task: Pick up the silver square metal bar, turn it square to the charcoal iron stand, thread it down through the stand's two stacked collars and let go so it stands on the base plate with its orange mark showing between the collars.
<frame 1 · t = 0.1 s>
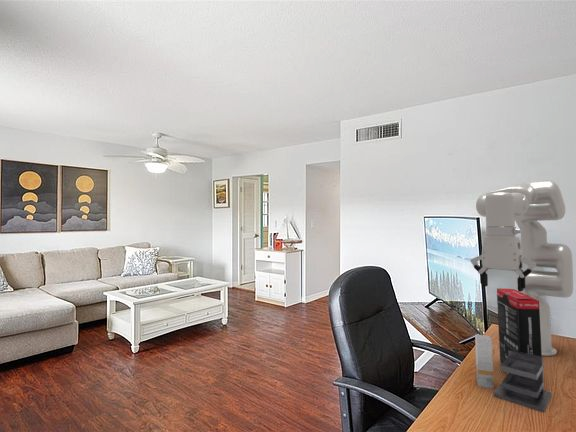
hand: (502, 288, 102), 31 cm above the table, tool pointing down, fingers open, 9 cm apart
silver square metal bar: (484, 384, 105), on the table
graphics card box: (519, 374, 112), on the table
collar stand: (522, 396, 98), on the table
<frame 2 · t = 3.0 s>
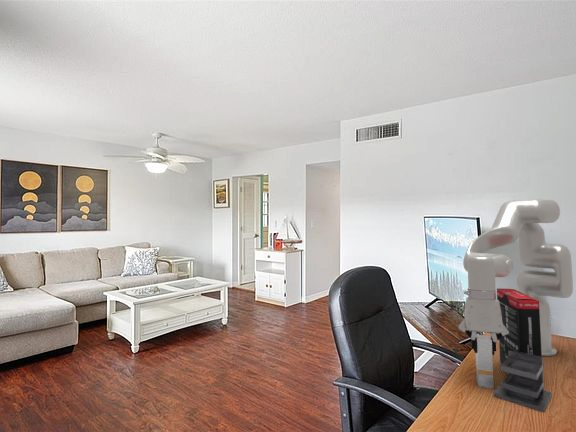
hand: (483, 351, 106), 10 cm above the table, tool pointing down, fingers closed on silver square metal bar, 4 cm apart
silver square metal bar: (484, 384, 105), on the table, touching gripper
everything else where it was.
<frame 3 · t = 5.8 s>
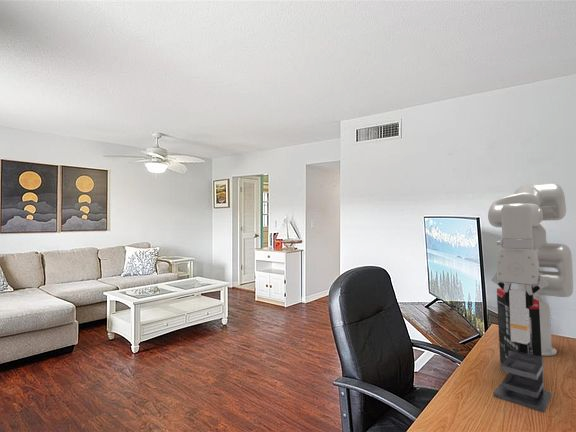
hand: (519, 305, 99), 27 cm above the table, tool pointing down, fingers closed on silver square metal bar, 4 cm apart
silver square metal bar: (520, 341, 98), point 16 cm above the table, touching gripper
everything else where it was.
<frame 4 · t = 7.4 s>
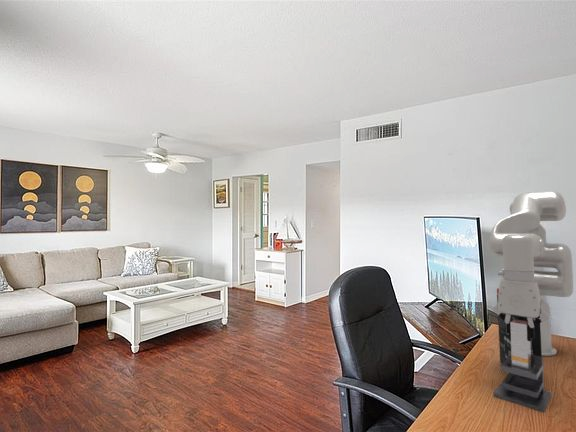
hand: (520, 337, 98), 17 cm above the table, tool pointing down, fingers closed on silver square metal bar, 4 cm apart
silver square metal bar: (521, 373, 98), point 7 cm above the table, touching gripper
everything else where it was.
when the fingers open (13 cm above the table, at t = 8.6 s): silver square metal bar drops 1 cm, resting on collar stand.
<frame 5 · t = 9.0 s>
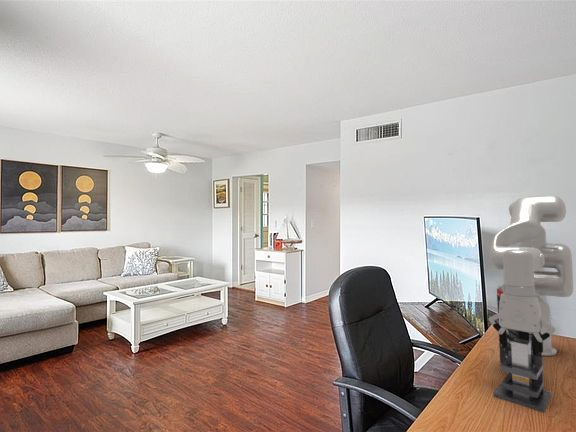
hand: (521, 350, 99), 13 cm above the table, tool pointing down, fingers open, 7 cm apart
silver square metal bar: (522, 392, 98), point 1 cm above the table, touching collar stand
everything else where it was.
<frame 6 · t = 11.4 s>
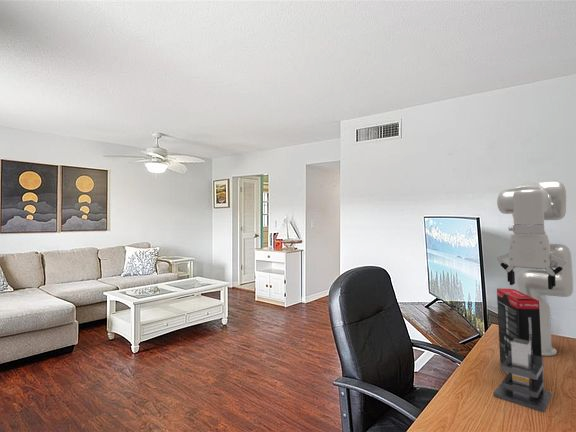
hand: (530, 286, 101), 32 cm above the table, tool pointing down, fingers open, 9 cm apart
nothing on the table moved.
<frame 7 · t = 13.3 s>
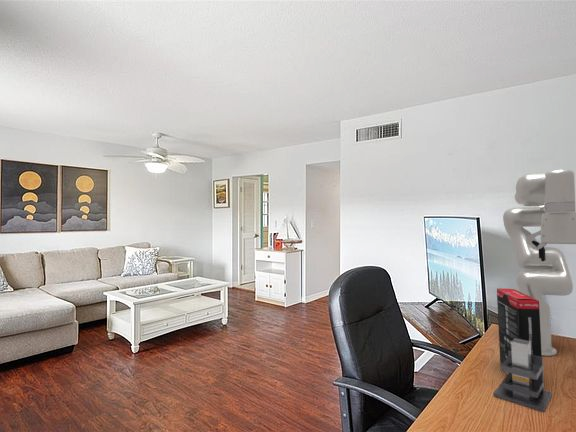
hand: (562, 261, 106), 38 cm above the table, tool pointing down, fingers open, 9 cm apart
nothing on the table moved.
at the end: silver square metal bar 0.1 cm off-centre on the collar stand, point 1.0 cm above the collar stand's base; silver square metal bar tilted 0°; the gripper is holding nothing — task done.
